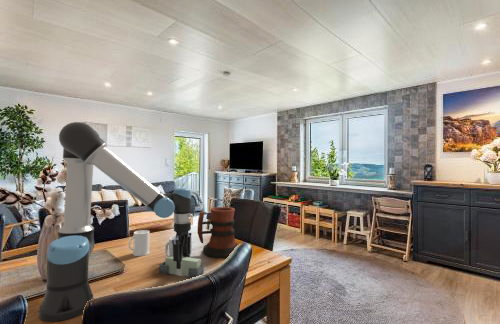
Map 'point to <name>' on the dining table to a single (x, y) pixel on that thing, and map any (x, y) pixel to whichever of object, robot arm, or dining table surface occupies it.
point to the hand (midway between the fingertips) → (182, 273)
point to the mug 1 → (140, 243)
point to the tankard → (218, 232)
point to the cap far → (163, 268)
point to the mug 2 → (172, 246)
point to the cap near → (196, 271)
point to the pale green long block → (187, 264)
